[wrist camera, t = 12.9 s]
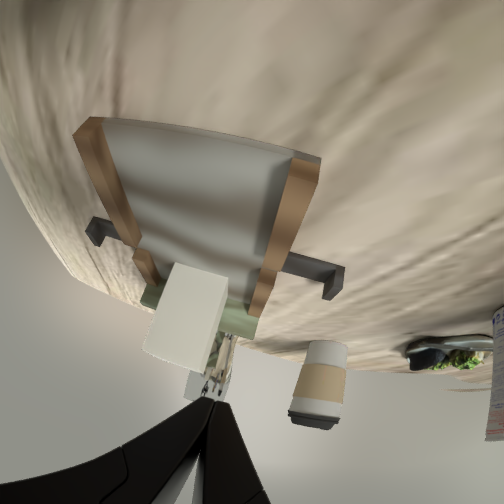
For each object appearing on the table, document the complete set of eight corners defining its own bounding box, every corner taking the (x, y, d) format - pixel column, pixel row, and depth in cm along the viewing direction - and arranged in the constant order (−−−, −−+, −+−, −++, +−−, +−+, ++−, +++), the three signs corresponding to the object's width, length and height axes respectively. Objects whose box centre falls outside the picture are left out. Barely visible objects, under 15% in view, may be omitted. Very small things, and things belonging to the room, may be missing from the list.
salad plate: (523, 321, 23) (524, 353, 21) (496, 352, 35) (496, 375, 32) (402, 332, 34) (399, 364, 32) (409, 359, 46) (406, 381, 44)
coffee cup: (293, 340, 48) (273, 421, 41) (328, 335, 41) (308, 430, 34) (328, 353, 51) (312, 426, 44) (364, 349, 44) (348, 433, 37)
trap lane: (44, 115, 15) (6, 157, 13) (407, 188, 14) (413, 257, 12) (123, 264, 37) (110, 292, 35) (300, 317, 36) (293, 350, 34)
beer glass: (227, 316, 45) (200, 404, 38) (252, 331, 49) (230, 410, 42) (199, 315, 49) (174, 393, 42) (224, 329, 54) (203, 401, 46)
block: (175, 262, 30) (141, 349, 25) (228, 277, 29) (198, 369, 25) (182, 283, 35) (155, 357, 30) (227, 296, 35) (203, 374, 30)
